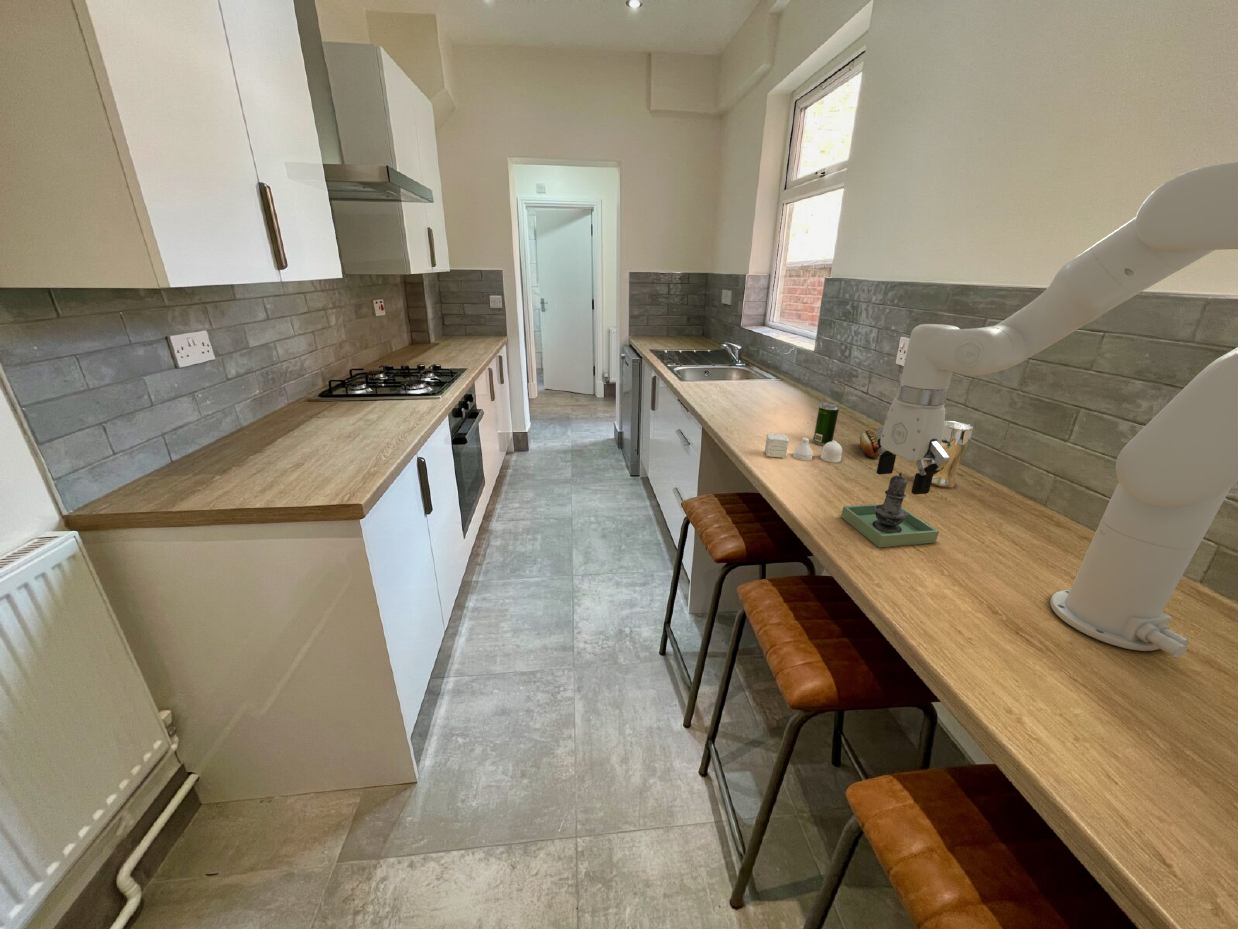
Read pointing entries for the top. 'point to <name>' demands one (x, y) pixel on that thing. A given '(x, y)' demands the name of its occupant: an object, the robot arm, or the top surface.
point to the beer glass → (953, 451)
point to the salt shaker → (892, 507)
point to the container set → (801, 449)
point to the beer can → (825, 423)
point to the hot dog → (869, 443)
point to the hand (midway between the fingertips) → (901, 483)
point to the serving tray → (910, 534)
